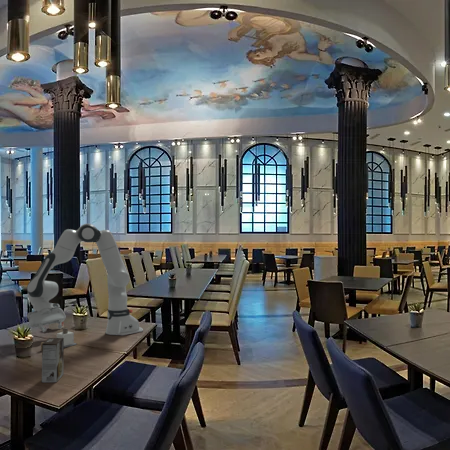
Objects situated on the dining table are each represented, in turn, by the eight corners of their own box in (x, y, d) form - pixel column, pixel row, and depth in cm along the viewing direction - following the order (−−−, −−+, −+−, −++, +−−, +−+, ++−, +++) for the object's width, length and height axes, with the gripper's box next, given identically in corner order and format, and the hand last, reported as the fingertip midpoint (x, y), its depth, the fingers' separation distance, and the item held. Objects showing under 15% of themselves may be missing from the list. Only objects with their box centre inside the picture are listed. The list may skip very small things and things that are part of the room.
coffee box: (48, 374, 177) (49, 337, 177) (63, 374, 178) (64, 337, 178) (40, 382, 168) (41, 343, 168) (57, 382, 169) (57, 343, 169)
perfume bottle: (67, 341, 227) (67, 326, 227) (73, 343, 224) (73, 328, 224) (56, 344, 222) (56, 328, 222) (62, 346, 218) (63, 330, 218)
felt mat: (67, 341, 229) (67, 341, 229) (77, 344, 224) (77, 343, 224) (52, 345, 222) (52, 344, 222) (62, 348, 216) (62, 347, 216)
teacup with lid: (61, 329, 255) (61, 311, 256) (46, 329, 255) (46, 311, 255) (67, 325, 267) (67, 307, 268) (53, 325, 267) (53, 307, 267)
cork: (43, 349, 214) (44, 341, 214) (46, 350, 212) (46, 342, 212) (39, 350, 212) (40, 342, 212) (42, 351, 211) (42, 343, 211)
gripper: (27, 309, 226) (37, 329, 220) (61, 304, 243) (71, 322, 237) (23, 316, 229) (32, 336, 223) (57, 310, 245) (66, 329, 240)
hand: (52, 329), depth 230 cm, fingers open, 8 cm apart
